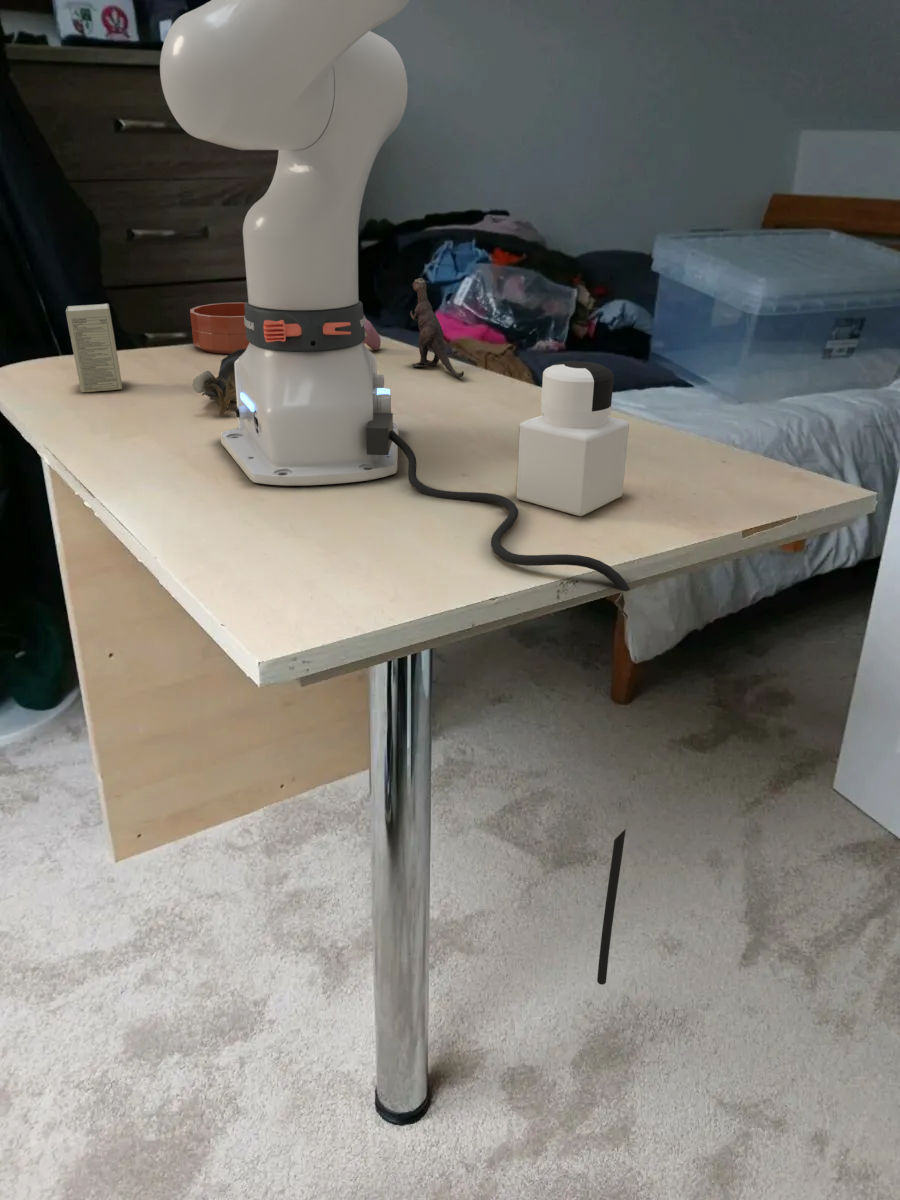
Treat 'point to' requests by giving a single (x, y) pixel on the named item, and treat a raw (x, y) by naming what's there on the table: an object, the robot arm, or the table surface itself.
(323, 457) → the robot arm
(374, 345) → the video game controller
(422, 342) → the dinosaur model
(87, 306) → the printed carton
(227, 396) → the eagle figurine
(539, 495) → the medicine bottle
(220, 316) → the bowl
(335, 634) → the table surface
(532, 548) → the table surface
